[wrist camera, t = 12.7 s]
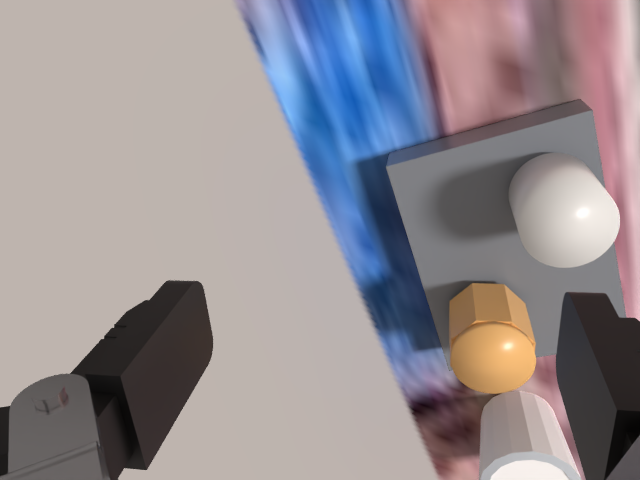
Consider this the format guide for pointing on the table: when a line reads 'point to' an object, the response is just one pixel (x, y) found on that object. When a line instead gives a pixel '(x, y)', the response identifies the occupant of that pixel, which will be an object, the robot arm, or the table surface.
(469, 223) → the plate
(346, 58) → the table surface
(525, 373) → the orange wire cap
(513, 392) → the white tapered cup
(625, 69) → the table surface
